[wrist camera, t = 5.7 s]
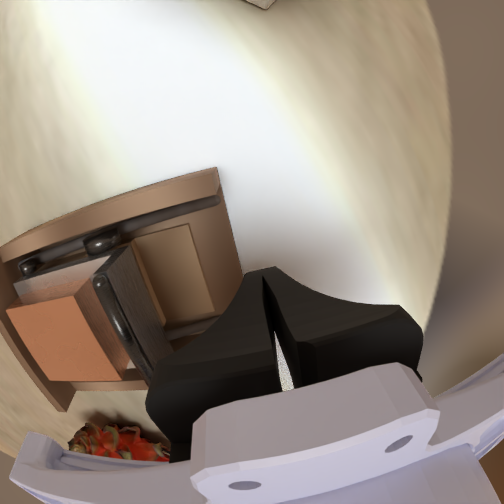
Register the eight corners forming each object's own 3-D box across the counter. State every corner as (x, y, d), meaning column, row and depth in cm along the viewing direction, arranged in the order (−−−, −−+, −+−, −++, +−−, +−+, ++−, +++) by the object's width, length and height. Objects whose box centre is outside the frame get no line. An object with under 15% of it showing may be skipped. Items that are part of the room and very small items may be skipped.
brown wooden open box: (216, 166, 13) (206, 179, 8) (256, 328, 17) (267, 403, 11) (29, 230, 13) (-31, 267, 8) (87, 353, 17) (58, 411, 11)
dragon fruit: (76, 394, 21) (183, 420, 25) (72, 455, 18) (172, 476, 23) (59, 426, 13) (204, 457, 18) (62, 496, 11) (189, 519, 15)
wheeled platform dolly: (135, 219, 12) (92, 256, 8) (183, 345, 15) (172, 408, 10) (30, 254, 12) (-18, 291, 8) (81, 356, 15) (56, 406, 10)
